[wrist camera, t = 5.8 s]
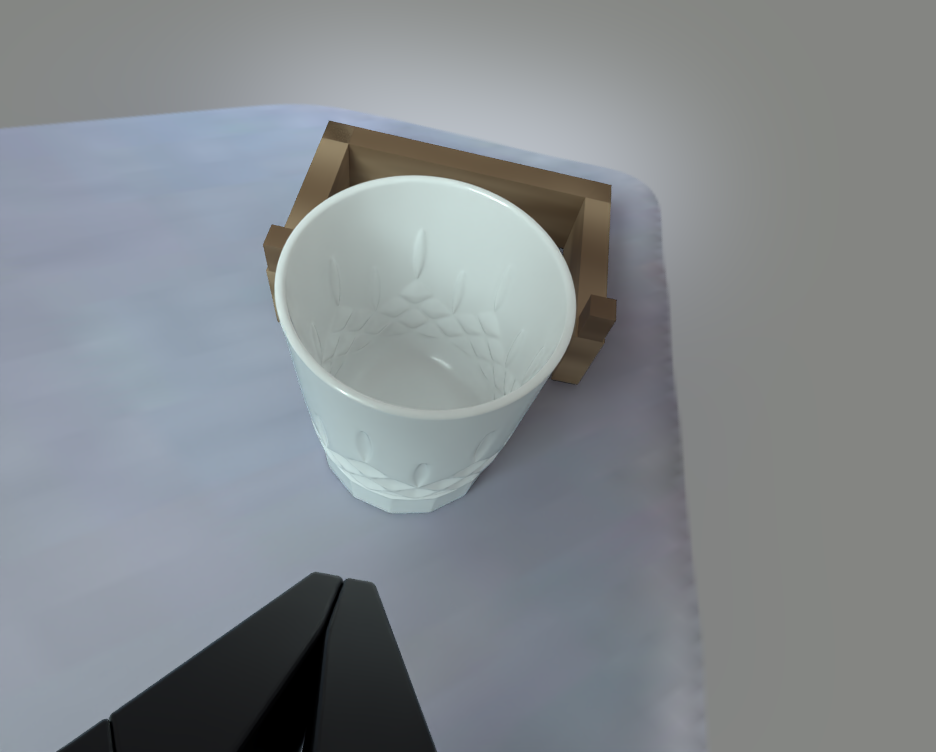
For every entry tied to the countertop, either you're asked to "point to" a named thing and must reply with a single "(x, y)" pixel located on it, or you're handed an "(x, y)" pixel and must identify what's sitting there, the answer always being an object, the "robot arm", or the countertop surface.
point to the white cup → (420, 332)
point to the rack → (531, 189)
